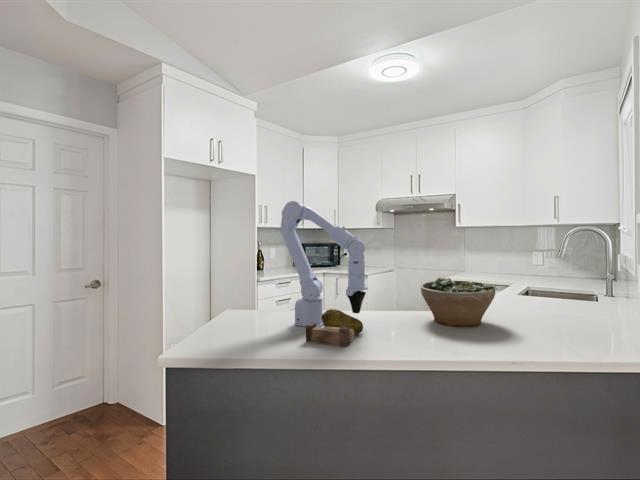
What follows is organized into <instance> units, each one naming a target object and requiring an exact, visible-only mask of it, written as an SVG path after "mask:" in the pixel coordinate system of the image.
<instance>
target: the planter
mask: <svg viewBox="0 0 640 480" xmlns="http://www.w3.org/2000/svg"><path fill="white" fill-rule="evenodd" d="M496 290H498V291H499V289H498V288H497V285H494V286H493V285H491V284H489V283H484V282H481V281H466V280H452V278H450V277H447V278H446V277H442V278H441V277H438V278H437V279H436V280H435V281H429V282H425V283H424V282H423V284H421V285H420V293H421V295H422V297H423V300H424V302H425V303H426V305H427V306H428V308H429V310H430V311H431V313H432V316H433V321H434V323H436V324H437V323H438V325H441V326H445V327H449V328H459V329H461V328H463V329H470V328H471V329H472V328H478V327H480V326H482V319H483V317H484V315H485V313H486V312H487V310H488V309H489V307H490V305H491V304H492V302H493V300H494V299H495V297H496Z"/></svg>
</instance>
